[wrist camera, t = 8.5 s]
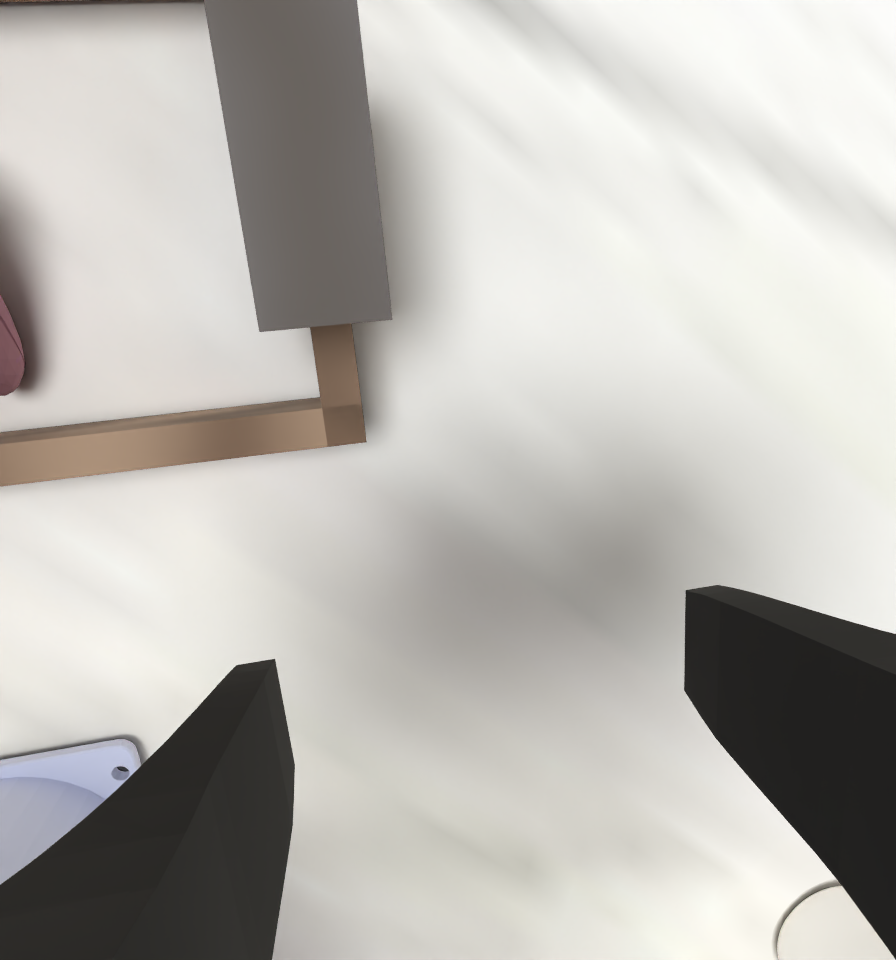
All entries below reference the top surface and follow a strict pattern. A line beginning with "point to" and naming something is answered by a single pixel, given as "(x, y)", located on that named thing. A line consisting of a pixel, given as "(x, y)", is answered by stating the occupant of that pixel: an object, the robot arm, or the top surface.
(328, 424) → the sliding frame
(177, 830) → the robot arm
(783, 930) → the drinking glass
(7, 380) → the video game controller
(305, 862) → the top surface
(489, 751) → the top surface
